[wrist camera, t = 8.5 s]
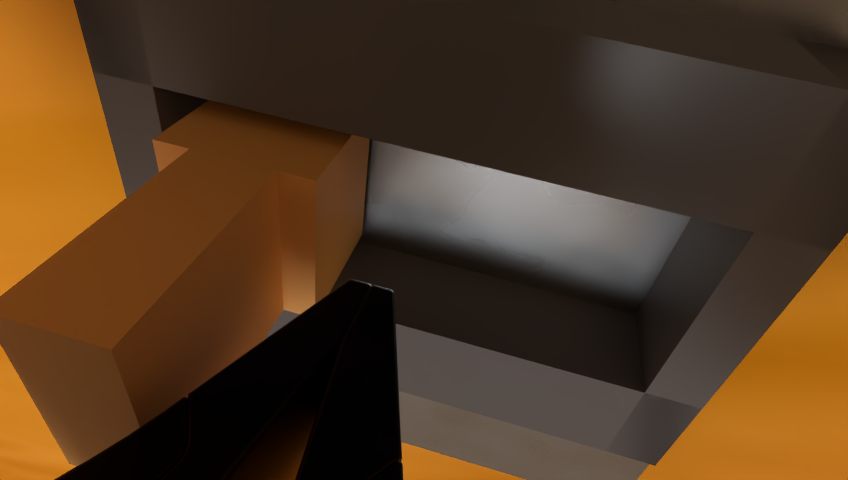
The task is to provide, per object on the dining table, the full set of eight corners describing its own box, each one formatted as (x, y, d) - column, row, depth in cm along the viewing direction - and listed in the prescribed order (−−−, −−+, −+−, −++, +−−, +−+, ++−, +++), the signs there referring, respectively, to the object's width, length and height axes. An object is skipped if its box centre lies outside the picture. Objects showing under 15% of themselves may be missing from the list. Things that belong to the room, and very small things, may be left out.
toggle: (371, 109, 11) (169, 367, 6) (362, 234, 13) (208, 508, 8) (240, 78, 11) (-72, 294, 6) (251, 205, 13) (28, 449, 8)
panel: (1385, -566, 5) (1550, -649, 4) (613, 473, 19) (615, 506, 18) (15, -683, 7) (-71, -762, 6) (210, 355, 21) (193, 379, 20)
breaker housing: (868, 53, 9) (948, 111, 7) (609, 439, 16) (612, 516, 14) (151, -94, 10) (52, -80, 8) (220, 326, 17) (176, 384, 16)
